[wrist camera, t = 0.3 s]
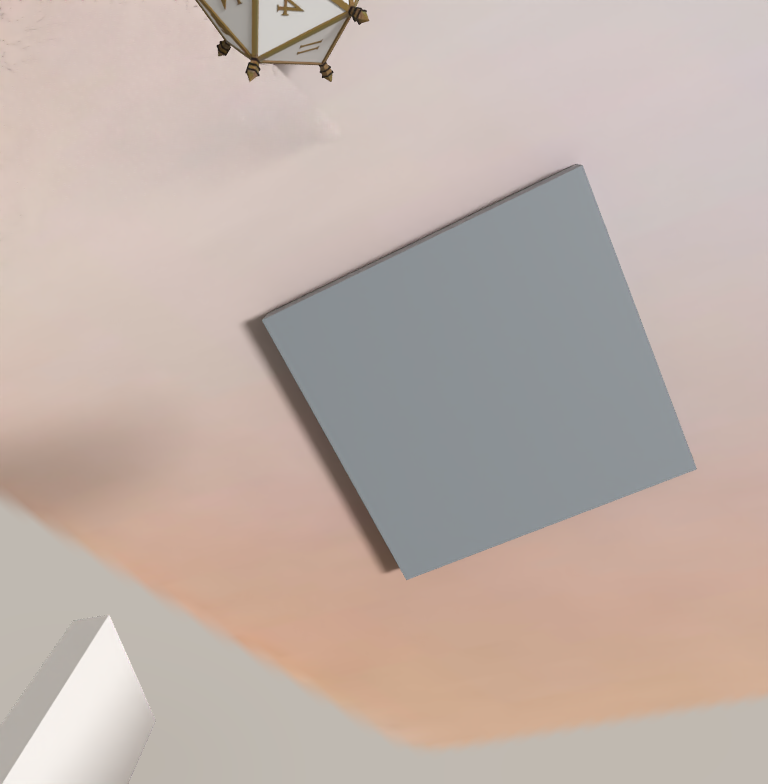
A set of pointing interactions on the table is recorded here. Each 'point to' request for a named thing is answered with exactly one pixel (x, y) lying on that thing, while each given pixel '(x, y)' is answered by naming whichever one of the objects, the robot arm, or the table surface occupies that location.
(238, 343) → the table surface
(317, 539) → the table surface
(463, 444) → the board
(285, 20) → the game die
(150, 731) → the robot arm
